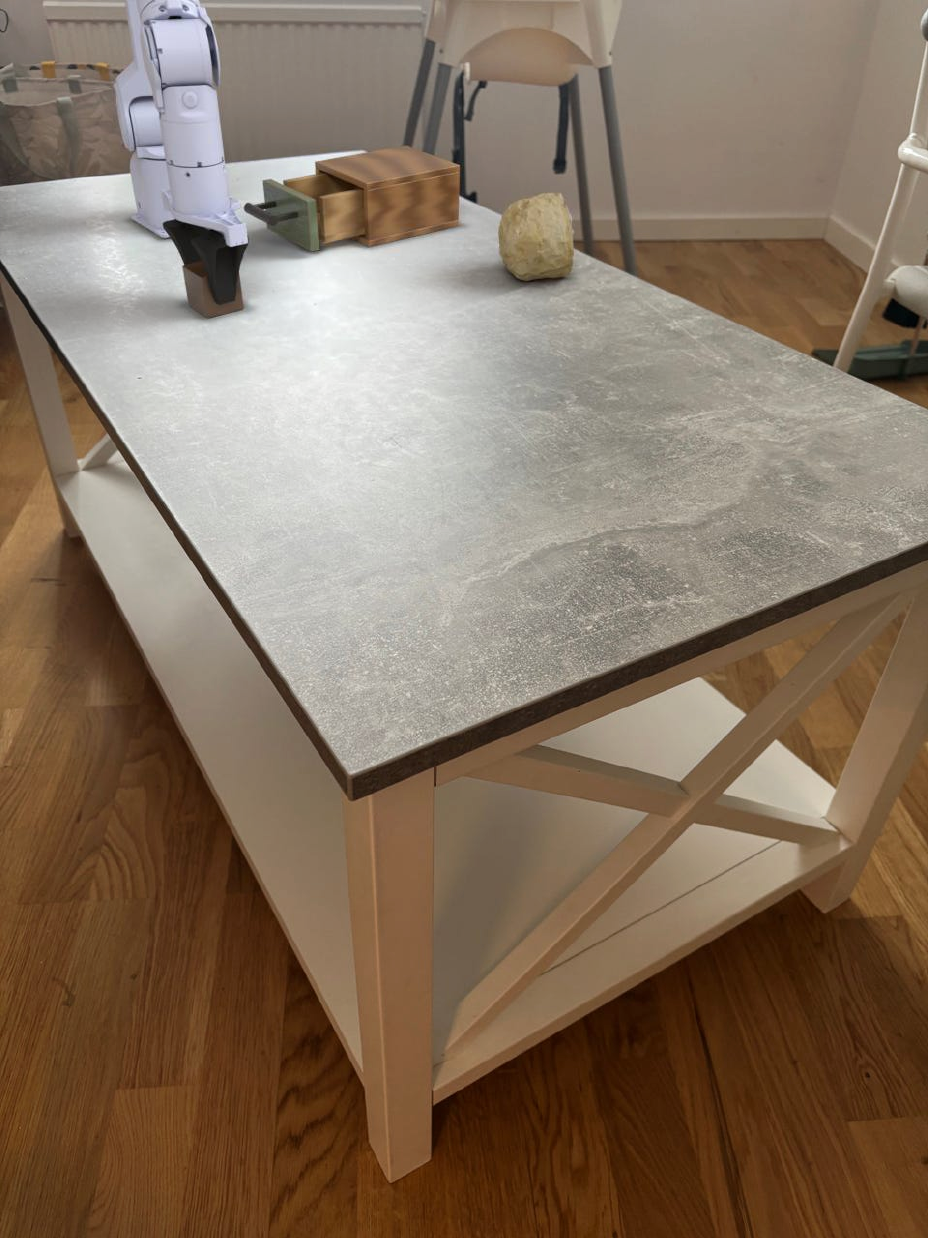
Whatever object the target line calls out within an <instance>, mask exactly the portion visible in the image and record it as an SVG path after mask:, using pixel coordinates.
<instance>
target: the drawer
mask: <svg viewBox="0 0 928 1238" xmlns="http://www.w3.org/2000/svg"><path fill="white" fill-rule="evenodd" d="M261 182H262V191H263V201H264V202H261V203H255V204H253V203H251V202H246V203H245V204H244V206H243V211H244V212H245V213H246V214H248V215H250V216H252V217H254V218H256V219H258V220H260V221H262V222H264V223H265V224H266V229H268V230H270V231H271V232H273V233H275V234H277V235H279V236H281V237H283V238H285V239H287V240H288V241H291V242H292V243H295V244H296V245H298V246H300V247H302V248H304V249H306V250H307V251H310V252H315V251H319V250H320V242H322V243H324V244H329V243H332V242H333V243H334V242H337V241H341V240H345V239H349V238H350V237H355V236H359V235H363V234H365V212H364V189H363V188H361V187H359V186H356V185H354V184H352V183H349V182H347V181H345V180H342V179H340V178H338V177H335V176H333V175H331V174H328V173H326V172H325V173H320V174H316V173H315V174H310V175H304V176H299V177H293V178H288V179H283V180H282V183H281V182H279V181H277V180H274V179H273V178H268V179H267V178H266V179H262V180H261ZM350 239H351V238H350Z"/></svg>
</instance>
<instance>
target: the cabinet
mask: <svg viewBox="0 0 928 1238" xmlns="http://www.w3.org/2000/svg"><path fill="white" fill-rule="evenodd" d="M314 166H315V167H314V168H315V174H320V173H325V172H326V173H328V174H331V175H333V176H335V177H338V178H340V179H342V180H345V181H347V182H349V183H352V184H354V185H356V186H359V187H361V188H363V189H364V212H365V234H363V235H359V236H355V237H350V239H352V240H354V241H356V242H358V243H359V244H362V245H364V246H366V247H368V248H372V247H375V246H379V245H385V244H388V243H393V242H397V241H400V240H406V239H410V238H413V237H417V236H422V235H426V234H431V233H435V232H439V231H442V230H447V229H452V228H455V227H456V228H457V227H459V226H460V191H461V190H460V188H461V187H460V186H461V185H460V184H461V183H460V182H461V165H460V164H457V163H455V162H452V161H449V160H446V159H444V158H442V157H438V156H436V155H433V154H431V153H428V152H425V151H422V150H419V149H418V148H417V149H416V148H414V147H411V146H409V145H401V146H395V147H389V148H384V149H378V150H372V151H367V152H361V153H355V154H351V155H345V156H339V157H334V158H328V159H323V160H316V161H314Z"/></svg>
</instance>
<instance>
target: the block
mask: <svg viewBox="0 0 928 1238" xmlns="http://www.w3.org/2000/svg"><path fill="white" fill-rule="evenodd" d="M181 266H182V272H183V279H184V287H185V293H186V299H187V304H188V306H189V307H190V308H192V309H193V310H194V311H196V312H197V313H199V314H200V315H202V316H203V317H204V318H206V319H211V318H215V317H219V316H223V315H226V314H230V313H235V312H238V311H243V310H244V309H245V308H244V302H243V301H244V300H243V291H242V284H241V276H240V275H241V274H239V275H238V283H237V291H236V298H235V301H233V302H229V303H225V304H221V305H218V304H216V302H215V300H214V298H213V295H212V292H211V289H210V285H209V281H208V277H207V273H206V270H205V267H204V265H203V262H202V261H200V262H196V263H191V264H187V265H184V264H183V265H181Z"/></svg>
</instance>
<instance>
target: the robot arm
mask: <svg viewBox="0 0 928 1238" xmlns="http://www.w3.org/2000/svg"><path fill="white" fill-rule="evenodd" d="M123 2H124V7H125V13H126V19H127V26H128V32H129V33H128V34H129V38H130V44H131V51H132V56H133V57H132V58H133V60H132V62H130V63H129V65H128V66H126V67H125V68H124V69H123V71H121V72H120V73H119V74H118V75H117V76H116V77H115V79H114V84H113V88H114V93H115V94H114V95H115V107H116V115H117V120H118V124H119V129H120V134H121V138H122V143H123V146H124V147H125V148H126V149H128V151H129V152H133V153H132V155H131V158H130V161H129V173H130V178H131V183H132V184H131V185H132V189H133V195H134V199H135V205H136V211H137V213H136V214H132V215H131V220H132V221H134V222H136V223H137V224H139V225H140V226H142V227H144V228H145V229H147V230H149V231H150V232H151V233H154V234H155V235H157V236H159V237H160V238H162V239H168V238H170V240H171V241H172V243H173V245H174V246H175V248H176V250H177V253H178V254H179V256H180V258H181V261H182V263H183V265H187V264H191V263H196V262H200V261H202V262H203V265H204V267H205V270H206V273H207V277H208V281H209V285H210V289H211V292H212V295H213V298H214V300H215V302H216V304H218V305H221V304H225V303H229V302H233V301H235V298H236V291H237V283H238V275H240V269H241V265H242V262H243V259H244V256H245V254H246V250H247V248H248V247H249V245H250V236H249V235H248V229H247V223H246V222H244V221H242V219H240V217H239V215H238V213H237V210H240V209H241V208H242V207H241V206H242V205H241V201H240V200H238V199H236V198H233V197H230V191H229V182H228V176H227V175H228V174H227V167H226V159H225V158H226V157H225V151H224V149H225V148H224V143H223V134H222V126H221V125H222V124H221V116H220V109H219V101H218V92H217V90H216V89H215V88H214V87H213V83H214V86H215V87H216V88H220V85H221V59H220V52H219V46H218V42H217V36H216V34H215V30H214V28H213V24H212V20H211V18H210V17H209V16H208V13H207V10H206V8H205V7H204V6H202V5H201V2H200V0H124V1H123Z"/></svg>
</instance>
